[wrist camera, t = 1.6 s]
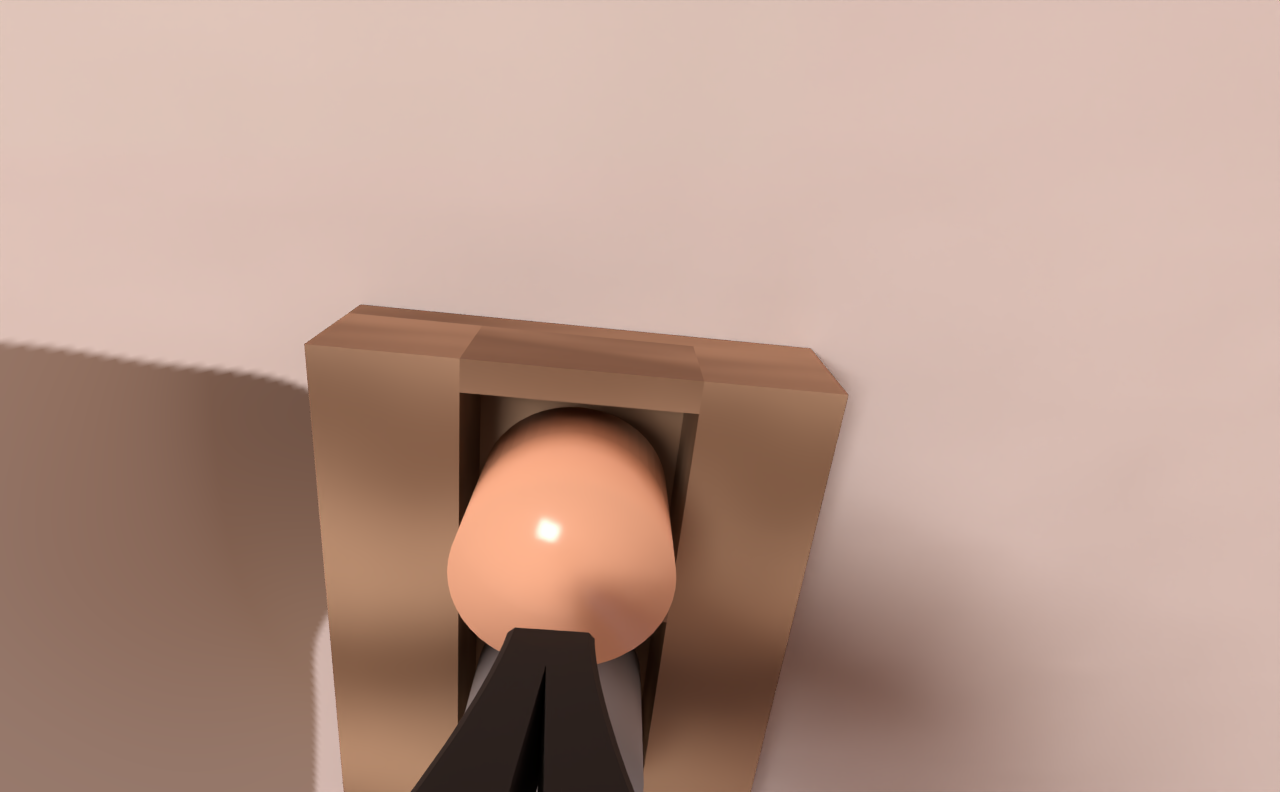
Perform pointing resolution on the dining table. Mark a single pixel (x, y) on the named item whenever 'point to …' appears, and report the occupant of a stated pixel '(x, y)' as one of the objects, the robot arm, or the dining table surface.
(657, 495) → the peach rounded block
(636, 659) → the key slate
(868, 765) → the dining table surface
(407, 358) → the brown wooden flat frame
